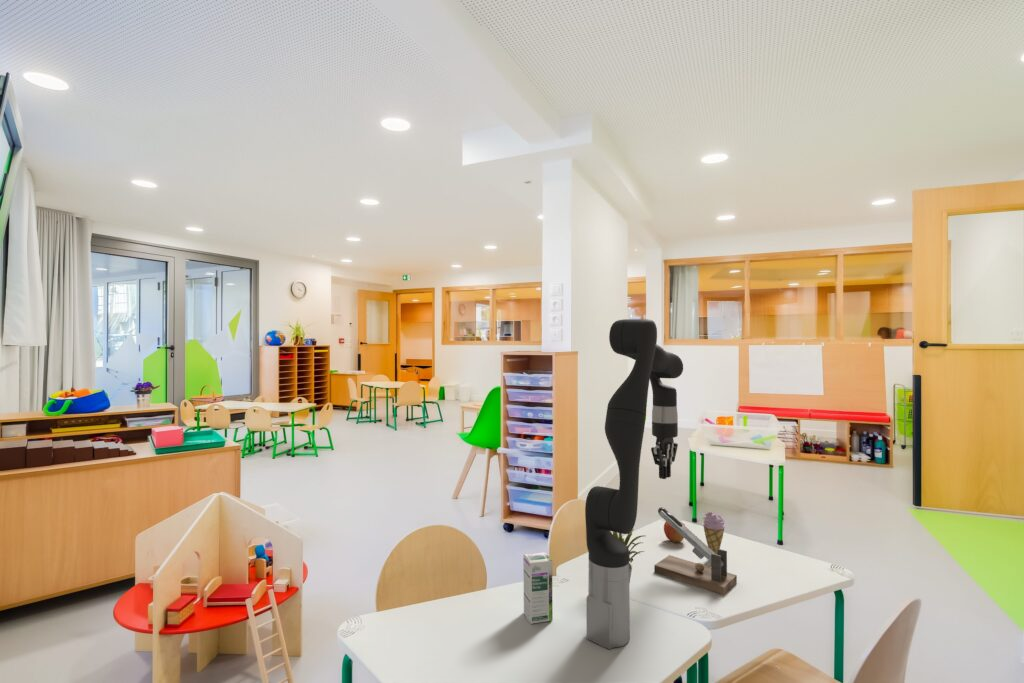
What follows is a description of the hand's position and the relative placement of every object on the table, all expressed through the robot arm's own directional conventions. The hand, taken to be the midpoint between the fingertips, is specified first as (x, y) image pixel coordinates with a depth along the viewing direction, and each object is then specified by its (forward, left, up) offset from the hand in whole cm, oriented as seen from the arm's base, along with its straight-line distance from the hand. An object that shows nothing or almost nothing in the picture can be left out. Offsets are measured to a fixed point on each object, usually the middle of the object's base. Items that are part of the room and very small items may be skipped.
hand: (664, 477), depth 147 cm
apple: (+22, +7, -27) cm, 36 cm away
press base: (0, -9, -27) cm, 29 cm away
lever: (0, -6, -18) cm, 19 cm away
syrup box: (-48, +10, -27) cm, 56 cm away
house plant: (-21, +2, -27) cm, 34 cm away
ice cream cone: (+17, -8, -27) cm, 33 cm away
